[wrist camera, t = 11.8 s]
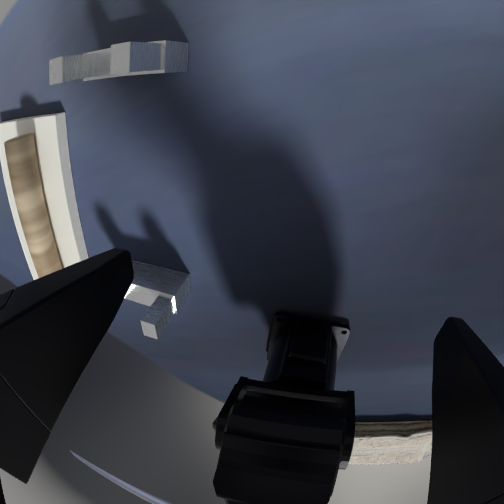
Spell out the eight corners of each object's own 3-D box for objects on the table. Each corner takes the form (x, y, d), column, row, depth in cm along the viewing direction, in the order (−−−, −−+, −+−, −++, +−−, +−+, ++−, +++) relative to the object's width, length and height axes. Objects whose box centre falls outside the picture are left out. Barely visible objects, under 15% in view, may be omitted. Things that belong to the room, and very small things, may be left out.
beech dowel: (76, 310, 34) (83, 325, 32) (56, 319, 32) (62, 335, 30) (32, 131, 22) (34, 135, 20) (4, 140, 20) (3, 145, 18)
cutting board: (109, 327, 34) (104, 333, 33) (50, 302, 36) (45, 307, 35) (65, 112, 21) (55, 115, 20) (3, 121, 22) (-5, 124, 21)
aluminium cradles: (191, 291, 27) (159, 341, 22) (130, 275, 28) (94, 318, 23) (189, 43, 16) (132, 37, 11) (110, 51, 17) (48, 57, 12)
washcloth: (425, 448, 35) (425, 465, 33) (315, 450, 41) (312, 467, 38) (449, 413, 29) (451, 433, 27) (315, 417, 35) (311, 437, 32)
